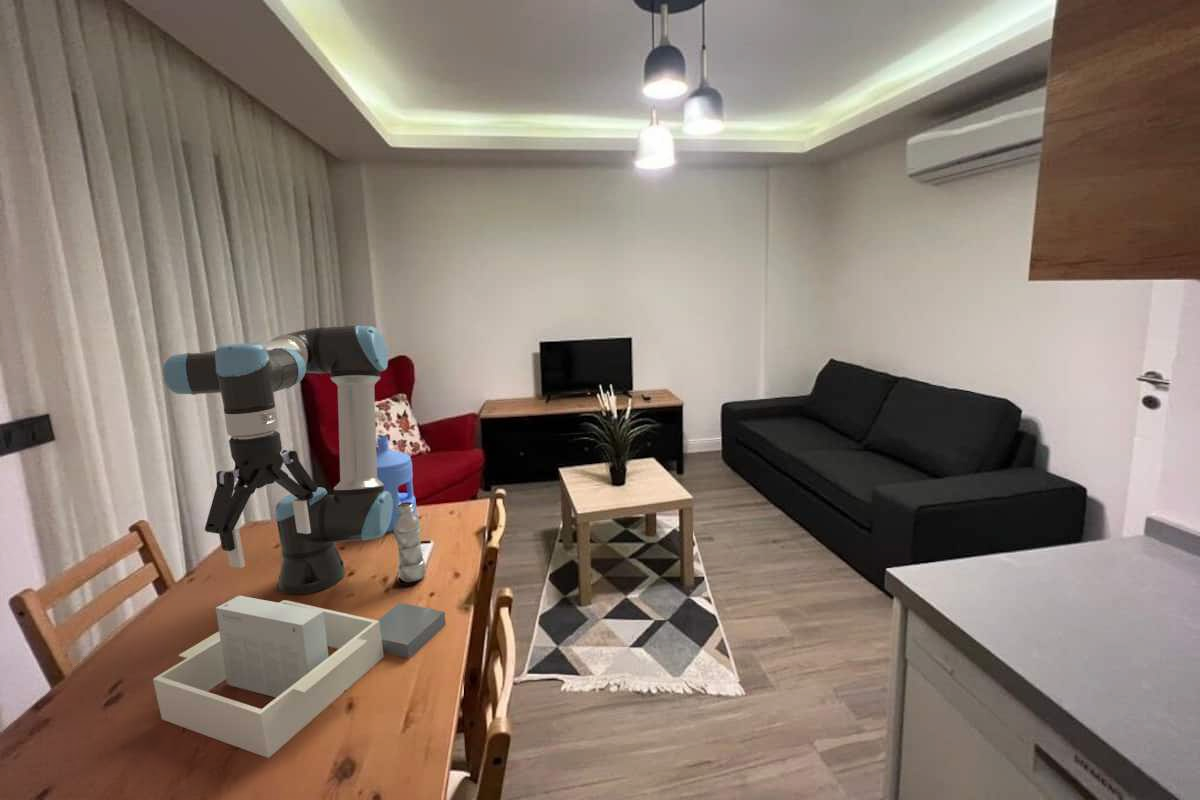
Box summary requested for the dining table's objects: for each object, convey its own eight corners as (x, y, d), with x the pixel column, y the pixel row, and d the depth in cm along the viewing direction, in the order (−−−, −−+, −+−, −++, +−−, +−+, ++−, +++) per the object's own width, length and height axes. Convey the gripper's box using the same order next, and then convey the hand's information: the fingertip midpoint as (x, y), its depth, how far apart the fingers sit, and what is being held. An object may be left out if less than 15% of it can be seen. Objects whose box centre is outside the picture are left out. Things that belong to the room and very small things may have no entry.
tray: (152, 716, 97) (143, 675, 96) (280, 631, 121) (275, 597, 119) (280, 762, 86) (272, 717, 85) (393, 659, 110) (389, 623, 108)
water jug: (366, 537, 166) (354, 447, 160) (365, 518, 180) (354, 435, 175) (420, 527, 172) (411, 440, 166) (415, 509, 186) (406, 428, 181)
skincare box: (336, 687, 103) (324, 610, 99) (312, 708, 98) (299, 627, 94) (252, 666, 109) (238, 593, 106) (225, 685, 104) (211, 608, 101)
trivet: (361, 646, 114) (359, 633, 114) (401, 614, 125) (399, 602, 125) (409, 658, 110) (407, 645, 109) (445, 624, 121) (444, 611, 120)
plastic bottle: (432, 574, 142) (424, 501, 138) (413, 587, 136) (404, 511, 132) (413, 570, 145) (404, 498, 141) (393, 582, 139) (384, 508, 135)
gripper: (196, 455, 83) (220, 586, 87) (328, 418, 106) (342, 522, 110) (162, 452, 85) (187, 579, 89) (298, 416, 108) (313, 518, 112)
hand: (272, 548), depth 100 cm, fingers open, 13 cm apart
